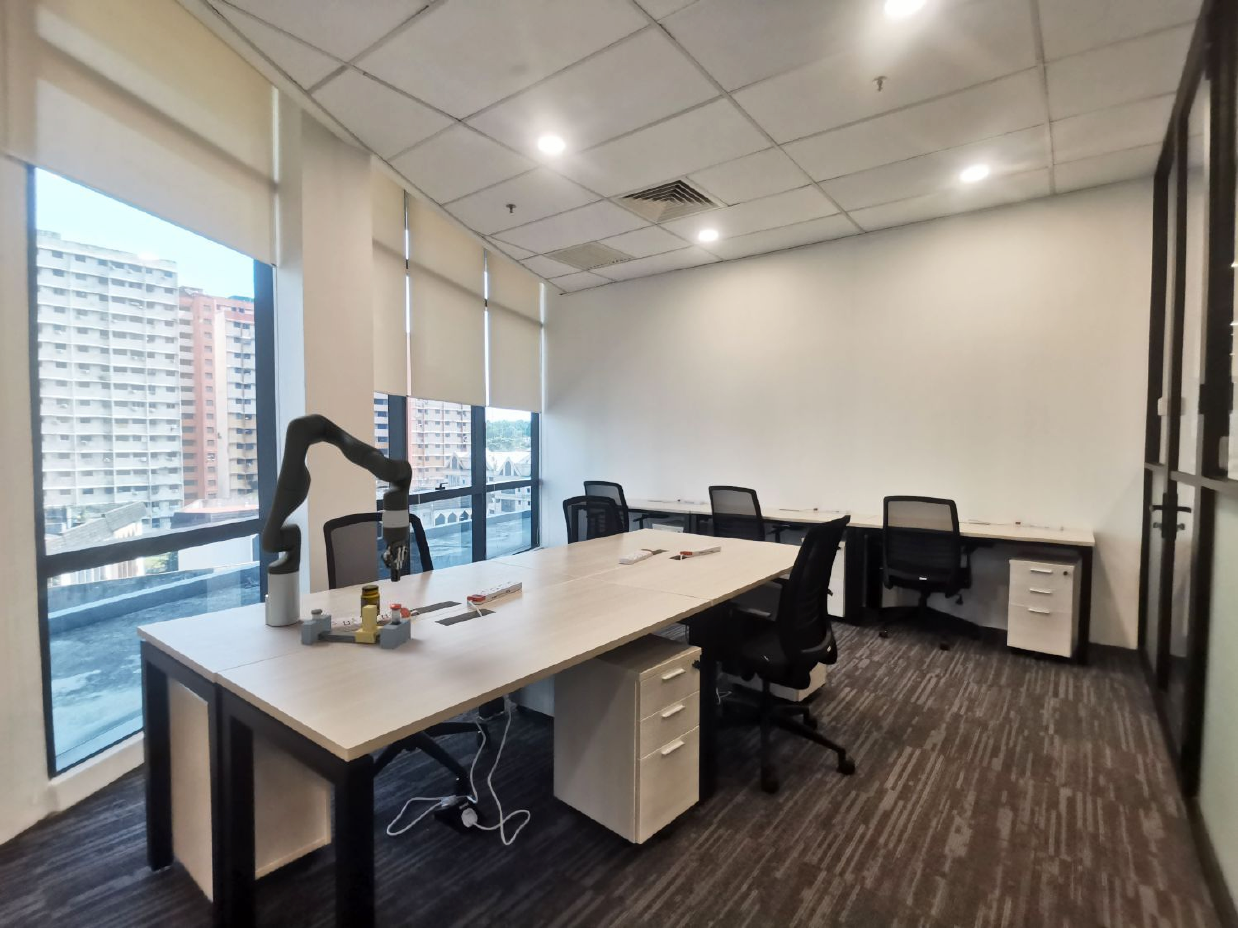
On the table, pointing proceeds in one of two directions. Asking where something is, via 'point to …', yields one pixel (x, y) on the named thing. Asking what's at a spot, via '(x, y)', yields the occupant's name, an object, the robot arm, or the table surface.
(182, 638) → the table surface
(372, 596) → the condiment
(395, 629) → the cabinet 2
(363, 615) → the carriage
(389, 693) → the table surface
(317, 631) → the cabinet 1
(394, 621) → the plunger
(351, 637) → the rail
